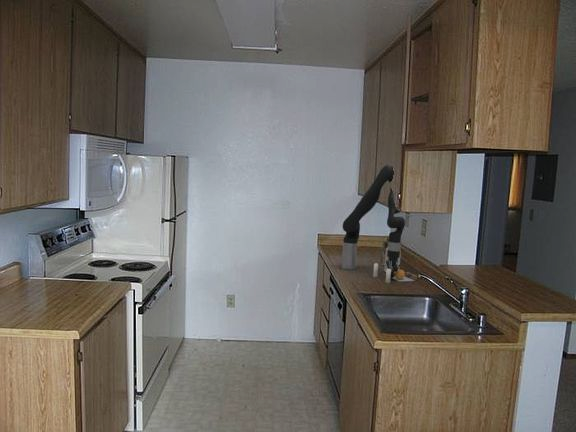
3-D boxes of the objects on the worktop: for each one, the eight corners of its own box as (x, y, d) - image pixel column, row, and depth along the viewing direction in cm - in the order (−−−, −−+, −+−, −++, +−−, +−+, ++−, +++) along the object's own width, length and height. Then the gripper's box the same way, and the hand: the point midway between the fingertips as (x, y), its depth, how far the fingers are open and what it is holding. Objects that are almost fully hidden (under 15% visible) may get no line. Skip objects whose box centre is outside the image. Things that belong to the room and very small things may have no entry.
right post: (384, 282, 284) (385, 268, 283) (388, 282, 285) (389, 268, 284) (386, 283, 282) (388, 269, 281) (390, 283, 282) (391, 269, 282)
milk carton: (389, 273, 307) (391, 244, 305) (384, 271, 314) (386, 242, 312) (399, 273, 309) (401, 244, 307) (393, 271, 316) (396, 242, 314)
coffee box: (395, 266, 331) (397, 243, 329) (388, 267, 328) (390, 244, 326) (387, 264, 339) (389, 241, 337) (380, 264, 336) (381, 241, 334)
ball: (403, 277, 297) (396, 282, 295) (397, 268, 298) (391, 273, 295) (408, 275, 292) (402, 280, 289) (403, 266, 292) (396, 271, 290)
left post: (372, 276, 298) (373, 263, 297) (376, 276, 299) (377, 263, 298) (374, 277, 296) (375, 264, 295) (378, 277, 297) (379, 264, 296)
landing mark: (389, 277, 298) (389, 276, 298) (404, 276, 302) (404, 276, 302) (398, 281, 288) (398, 281, 288) (414, 280, 291) (414, 280, 291)
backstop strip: (405, 276, 301) (405, 272, 301) (407, 276, 302) (408, 272, 302) (414, 280, 292) (414, 275, 292) (416, 280, 293) (417, 275, 292)
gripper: (382, 247, 296) (380, 275, 298) (394, 251, 283) (391, 280, 285) (393, 247, 298) (391, 275, 300) (405, 251, 286) (402, 280, 288)
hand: (391, 277), depth 293 cm, fingers closed
